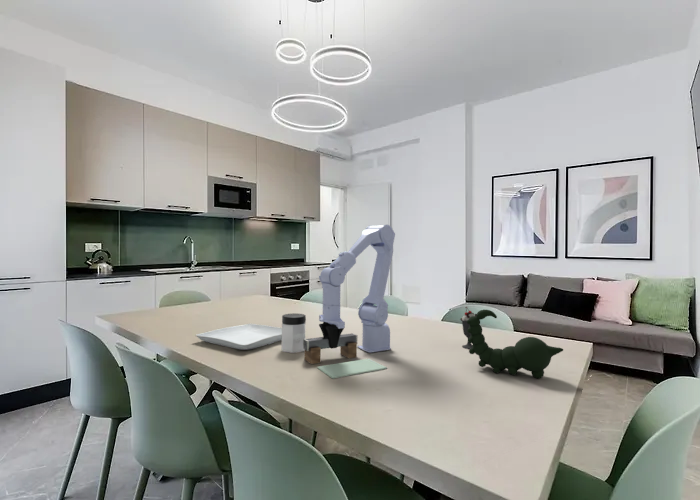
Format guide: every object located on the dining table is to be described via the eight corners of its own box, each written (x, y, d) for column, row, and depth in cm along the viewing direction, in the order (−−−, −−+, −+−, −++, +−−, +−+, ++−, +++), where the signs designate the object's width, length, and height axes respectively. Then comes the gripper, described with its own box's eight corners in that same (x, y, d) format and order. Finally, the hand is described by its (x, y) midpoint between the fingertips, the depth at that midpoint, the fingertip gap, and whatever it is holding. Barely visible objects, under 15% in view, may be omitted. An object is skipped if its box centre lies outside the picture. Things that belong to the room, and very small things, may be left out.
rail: (352, 342, 124) (352, 333, 124) (357, 344, 122) (357, 335, 122) (303, 348, 115) (303, 339, 115) (307, 351, 113) (307, 341, 113)
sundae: (458, 348, 132) (459, 306, 132) (460, 344, 138) (461, 304, 138) (478, 350, 130) (478, 308, 130) (479, 346, 136) (479, 305, 136)
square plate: (298, 339, 144) (298, 329, 144) (244, 356, 121) (244, 344, 121) (250, 330, 159) (250, 321, 159) (193, 343, 136) (193, 333, 136)
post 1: (313, 358, 118) (313, 343, 118) (320, 362, 114) (320, 347, 114) (304, 359, 117) (304, 344, 117) (311, 364, 112) (311, 348, 112)
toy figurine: (467, 375, 108) (565, 386, 95) (462, 311, 109) (558, 312, 96) (475, 367, 116) (566, 375, 103) (470, 307, 117) (560, 307, 104)
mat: (368, 359, 117) (368, 358, 117) (386, 368, 109) (386, 367, 109) (317, 368, 108) (317, 366, 108) (332, 378, 100) (332, 377, 100)
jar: (286, 354, 122) (286, 318, 122) (277, 348, 129) (277, 314, 129) (310, 350, 127) (310, 316, 127) (300, 345, 134) (300, 312, 134)
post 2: (348, 352, 125) (348, 339, 125) (356, 357, 120) (356, 342, 120) (340, 354, 123) (340, 340, 123) (348, 358, 118) (348, 343, 118)
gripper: (311, 302, 123) (310, 343, 123) (330, 308, 110) (329, 353, 110) (329, 301, 126) (329, 340, 126) (350, 307, 114) (350, 350, 114)
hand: (331, 346), depth 118 cm, fingers closed on rail, 3 cm apart
